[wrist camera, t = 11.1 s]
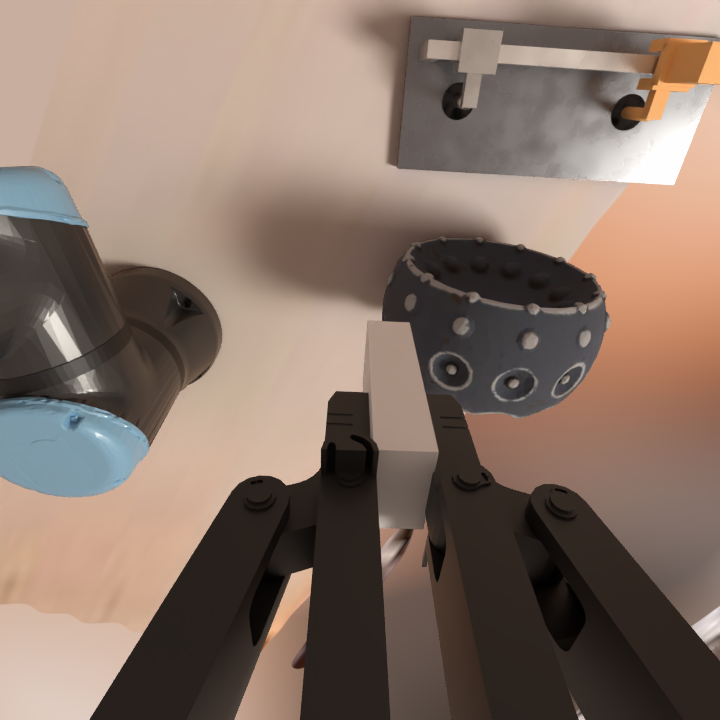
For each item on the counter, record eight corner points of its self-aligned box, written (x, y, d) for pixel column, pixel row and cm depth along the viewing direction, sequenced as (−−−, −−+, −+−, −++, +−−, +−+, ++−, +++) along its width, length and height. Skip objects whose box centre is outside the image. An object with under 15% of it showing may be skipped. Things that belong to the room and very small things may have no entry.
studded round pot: (385, 222, 48) (401, 299, 31) (565, 242, 49) (676, 326, 32) (372, 313, 54) (380, 420, 37) (534, 328, 55) (615, 438, 38)
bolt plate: (396, 166, 45) (397, 168, 44) (410, 17, 39) (412, 15, 38) (667, 182, 46) (674, 185, 45) (724, 40, 40) (733, 39, 39)
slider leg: (608, 117, 42) (673, 126, 33) (631, 43, 39) (709, 31, 30) (640, 119, 42) (712, 129, 33) (665, 45, 39) (752, 34, 30)
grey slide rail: (413, 104, 42) (422, 107, 36) (420, 33, 39) (431, 25, 34) (681, 122, 43) (730, 127, 37) (707, 54, 40) (764, 49, 35)
